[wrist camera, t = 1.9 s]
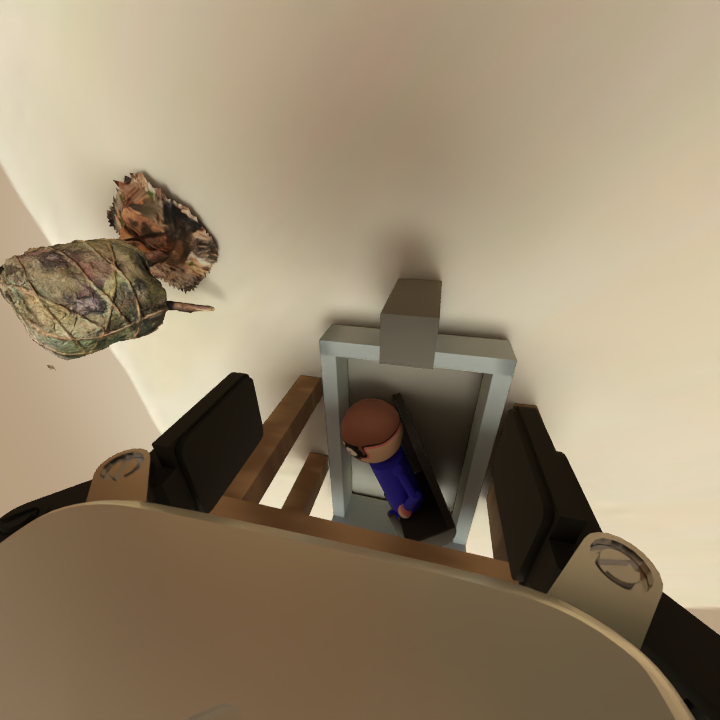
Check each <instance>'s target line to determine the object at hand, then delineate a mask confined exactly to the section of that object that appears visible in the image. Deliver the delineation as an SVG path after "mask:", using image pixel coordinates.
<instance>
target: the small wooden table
mask: <svg viewBox="0 0 720 720" xmlns="http://www.w3.org/2000/svg"><path fill="white" fill-rule="evenodd" d="M321 397H322V385H321V378H317V377H309V376H300V377H299V378H298V380H297V381H296V382H295V384H294V385H293V386H292V387H291V389H290V390H289V391H288V393H287V394H286V395H285V397H284V398H283V399H282V400H281V402H280V403H279V404H278V406H277V407H276V408H275V410H274V411H273V412H272V414H271V415H270V416H269V417H268V419H267V420H266V421H265V423H264V424H263V425H262V426H263V431H264V432H263V437H262V439H261V441H260V442H259V444H258V445H257V447H256V448H255V450H254V451H253V453H252V454H251V455H250V457H249V458H248V460H247V461H246V463H245V464H244V465H243V467H242V468H241V470H240V471H239V473H238V474H237V475H236V477H235V478H234V480H233V481H232V483H231V484H230V486H229V487H228V488H227V490H226V491H225V493H224V494H223V496H222V497H221V498H220V500H219V501H218V503H217V504H216V506H215V507H214V508H213V510H212V511H211V512H210V513H208V514H212V515H216V516H221V517H226V518H231V519H235V520H240V521H245V522H249V523H254V524H259V525H264V526H268V527H273V528H277V529H282V530H287V531H291V532H296V533H301V534H305V535H310V536H314V537H319V538H323V539H328V540H333V541H337V542H342V543H346V544H351V545H355V546H360V547H364V548H369V549H373V550H378V551H382V552H387V553H391V554H396V555H400V556H405V557H409V558H413V559H418V560H422V561H427V562H431V563H436V564H440V565H444V566H448V567H452V568H457V569H461V570H465V571H469V572H473V573H477V574H481V575H486V576H490V577H494V578H498V579H501V580H504V581H508V582H511V583H515V584H518V585H519V582H518V581H514V580H513V579H512V577H511V573H510V567H509V562H508V557H507V552H506V546H505V541H504V536H503V531H502V525H501V520H500V515H499V510H498V504H497V499H496V494H495V488H494V483H493V479H492V483H491V486H490V489H489V493H488V496H487V499H486V500H487V508H488V516H489V525H490V533H491V541H492V549H493V557H494V559H492V558H488V557H484V556H480V555H475V554H471V553H467V552H462V551H458V550H454V549H449V548H445V547H441V546H437V545H432V544H428V543H424V542H419V541H415V540H411V539H407V538H402V537H398V536H394V535H389V534H385V533H381V532H377V531H372V530H368V529H364V528H359V527H355V526H351V525H347V524H342V523H338V522H334V521H329V520H325V519H321V518H317V517H312V516H309V514H310V512H311V510H312V507H313V505H314V502H315V500H316V498H317V495H318V493H319V491H320V488H321V486H322V483H323V481H324V479H325V476H326V474H327V471H328V469H329V467H328V456H326V455H320V454H315V453H310V454H309V456H308V458H307V460H306V462H305V464H304V466H303V468H302V470H301V472H300V474H299V475H298V477H297V479H296V481H295V483H294V485H293V487H292V489H291V491H290V493H289V495H288V497H287V499H286V501H285V503H284V505H283V507H282V509H278V508H274V507H269V506H265V505H261V504H259V502H260V500H261V499H262V497H263V495H264V494H265V492H266V490H267V489H268V487H269V485H270V484H271V482H272V480H273V478H274V477H275V475H276V473H277V472H278V470H279V468H280V467H281V465H282V463H283V462H284V460H285V458H286V456H287V455H288V453H289V451H290V450H291V448H292V446H293V445H294V443H295V441H296V440H297V438H298V436H299V434H300V433H301V431H302V429H303V428H304V426H305V424H306V423H307V421H308V419H309V418H310V416H311V414H312V412H313V411H314V409H315V407H316V406H317V404H318V402H319V401H320V399H321ZM516 406H525V407H534V408H537V406H531V405H524V404H516V403H515V406H514V409H515V407H516ZM537 410H538V408H537ZM538 412H539V410H538ZM539 414H540V413H539ZM540 416H541V415H540ZM541 419H542V418H541ZM542 421H543V420H542Z"/></svg>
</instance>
